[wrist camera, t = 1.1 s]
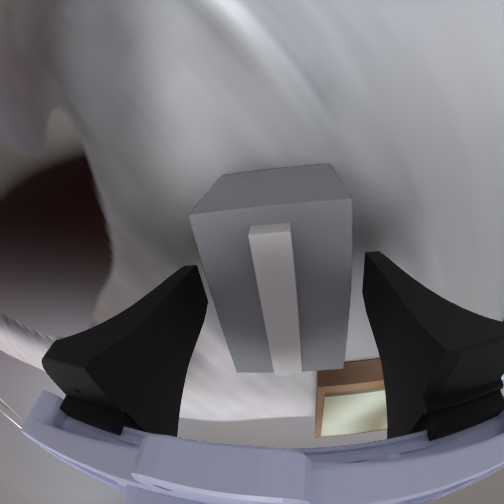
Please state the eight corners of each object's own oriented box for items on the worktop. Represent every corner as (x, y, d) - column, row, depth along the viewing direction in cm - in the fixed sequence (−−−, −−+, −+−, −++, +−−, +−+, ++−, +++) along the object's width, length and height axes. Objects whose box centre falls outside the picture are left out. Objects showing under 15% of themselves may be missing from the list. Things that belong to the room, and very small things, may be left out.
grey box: (329, 162, 12) (356, 206, 7) (333, 300, 16) (344, 378, 11) (223, 174, 13) (181, 222, 8) (250, 305, 17) (234, 382, 12)
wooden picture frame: (468, 341, 16) (478, 361, 14) (433, 402, 21) (437, 419, 19) (317, 364, 19) (318, 390, 17) (315, 420, 24) (315, 439, 22)
